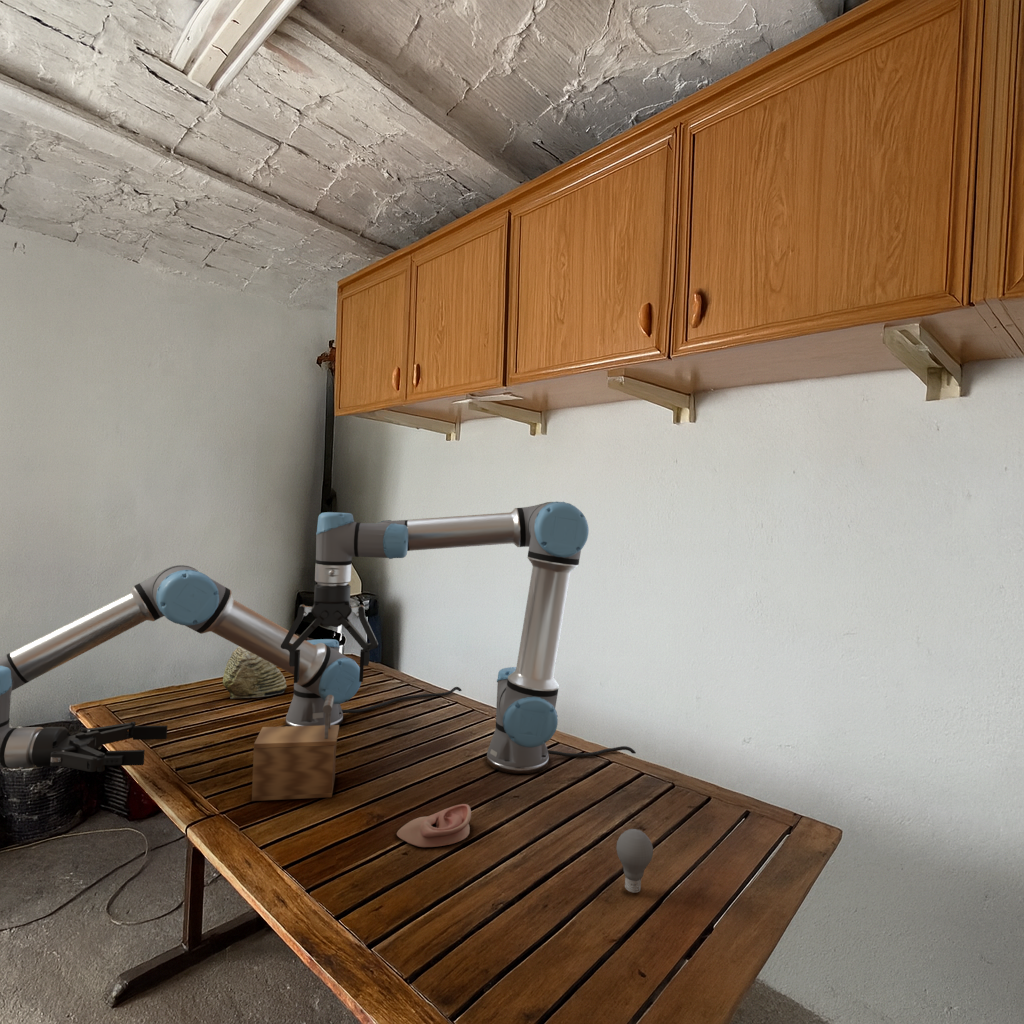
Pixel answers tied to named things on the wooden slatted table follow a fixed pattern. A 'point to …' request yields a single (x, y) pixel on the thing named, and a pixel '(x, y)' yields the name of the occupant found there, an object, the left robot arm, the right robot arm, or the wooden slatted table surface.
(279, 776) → the chest
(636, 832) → the light bulb
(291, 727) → the lid
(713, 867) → the wooden slatted table surface
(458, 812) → the anatomical model
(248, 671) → the fossil
